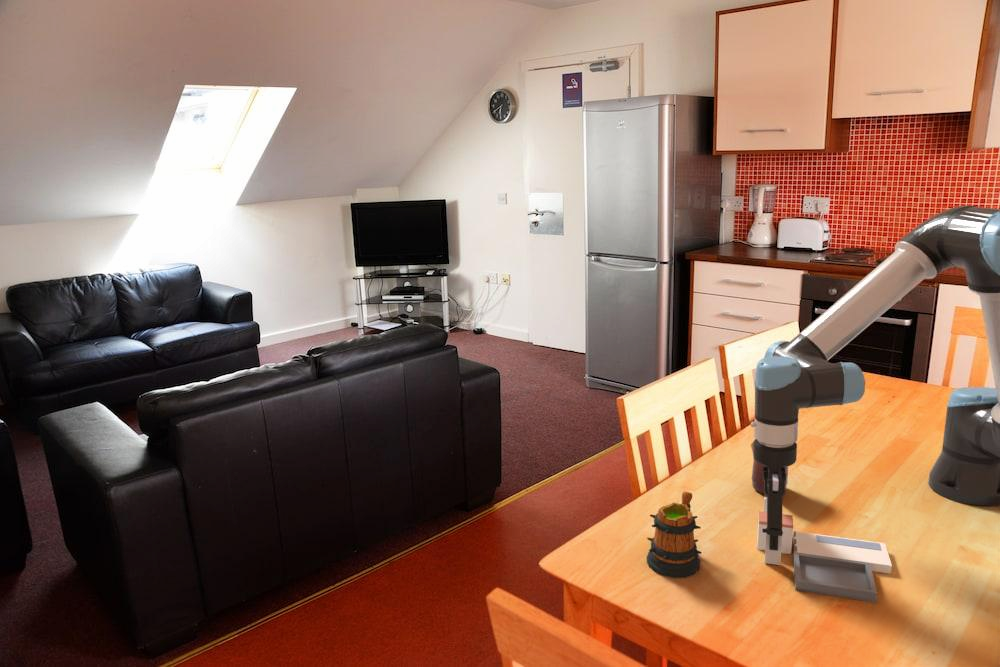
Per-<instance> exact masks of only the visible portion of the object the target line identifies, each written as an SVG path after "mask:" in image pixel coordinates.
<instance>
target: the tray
mask: <svg viewBox="0 0 1000 667" xmlns="http://www.w3.org/2000/svg"><path fill="white" fill-rule="evenodd" d="M792 562H793V574H794V584H795V591H799V592H806V593H813V594H818V595H819V594H820V595H825V596H831V597H837V598H838V597H839V598H844V599H851V600H859V601H862V602H869V603H870V602H871V603H877V598H878V590H877V587H876V584H875V583H876V582H875V579H874V575H873V571H871V567H870V563H867V562H860V561H853V560H846V559H839V558H832V557H825V556H818V555H811V554H804V553H797V552H794V551H793V560H792Z"/></svg>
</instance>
